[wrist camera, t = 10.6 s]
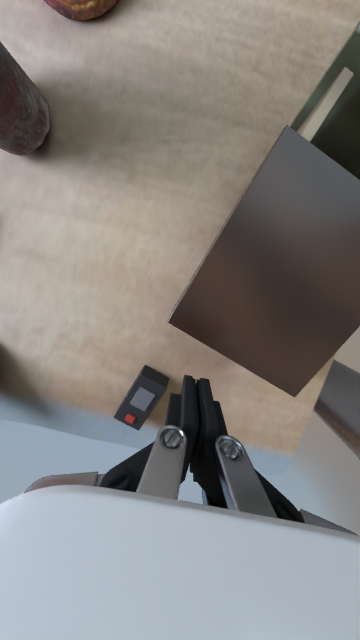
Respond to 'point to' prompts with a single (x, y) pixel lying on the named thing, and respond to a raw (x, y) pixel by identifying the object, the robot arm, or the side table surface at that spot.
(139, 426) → the remote
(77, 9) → the bell
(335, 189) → the cabinet
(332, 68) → the drawer
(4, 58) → the candle
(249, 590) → the robot arm
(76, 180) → the side table surface
